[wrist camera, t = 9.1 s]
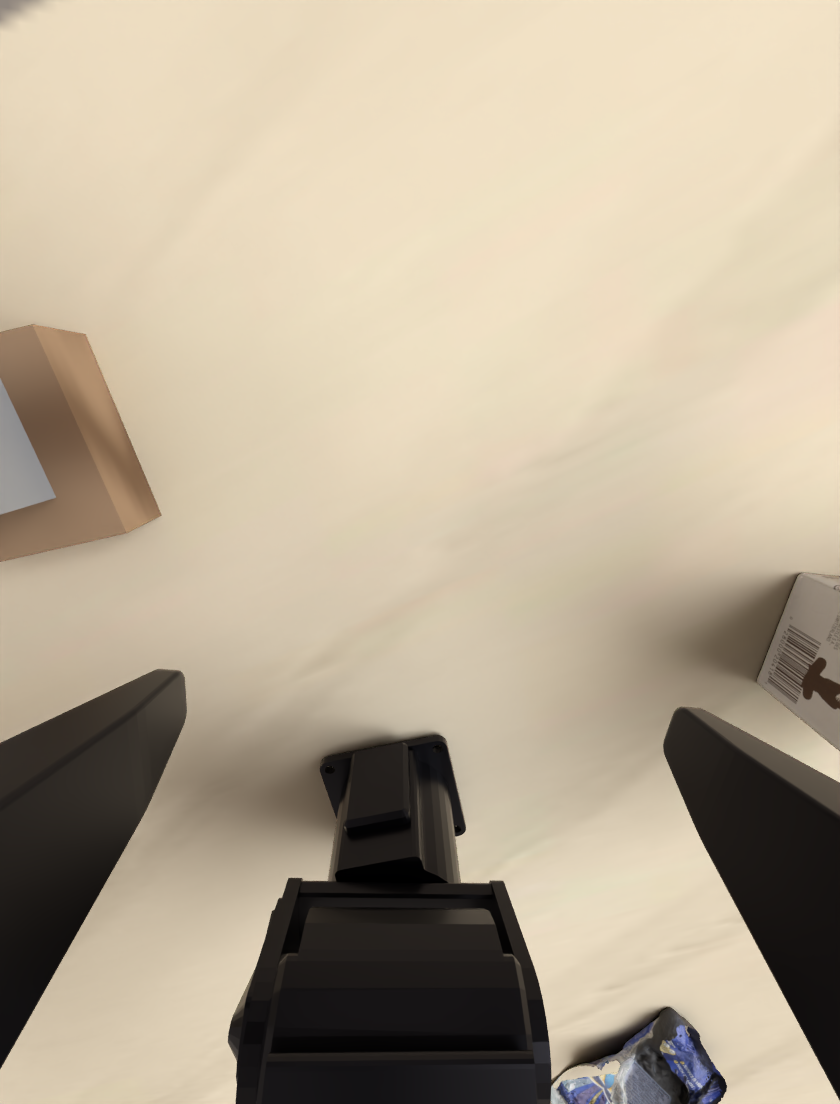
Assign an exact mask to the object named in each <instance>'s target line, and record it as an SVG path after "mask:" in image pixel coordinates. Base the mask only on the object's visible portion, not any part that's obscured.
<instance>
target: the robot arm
mask: <svg viewBox="0 0 840 1104" xmlns="http://www.w3.org/2000/svg"><path fill="white" fill-rule="evenodd" d="M186 713H187V707H186V690H185V677H184V674H183V673H182V672H181V671H179V670H166V669H157V670H154V671H152V672H150V673H148V674H146V675H144V676H141V677H139V678H137V679H135V680H133V681H131V682H129V683H127V684H124V685H122V686H120V687H118V688H116V689H114V690H112V691H110V692H107V693H105V694H103V695H101V696H99V697H97V698H95V699H93V700H91V701H88V702H86V703H84V704H82V705H80V706H78V707H76V708H74V709H71V710H69V711H67V712H65V713H63V714H61V715H59V716H57V717H54V718H52V719H50V720H48V721H46V722H44V723H42V724H40V725H37V726H35V727H33V728H31V729H29V730H27V731H25V732H23V733H21V734H18V735H16V736H14V737H12V738H10V739H8V740H6V741H4V742H1V743H0V1069H1V1067H2V1065H3V1064H4V1062H5V1060H6V1058H7V1057H8V1055H9V1053H10V1051H11V1049H12V1048H13V1046H14V1044H15V1042H16V1041H17V1039H18V1037H19V1035H20V1034H21V1032H22V1030H23V1028H24V1026H25V1025H26V1023H27V1021H28V1019H29V1018H30V1016H31V1014H32V1012H33V1010H34V1009H35V1007H36V1005H37V1003H38V1002H39V1000H40V998H41V996H42V995H43V993H44V991H45V989H46V987H47V986H48V984H49V982H50V980H51V979H52V977H53V975H54V973H55V971H56V970H57V968H58V966H59V964H60V963H61V961H62V959H63V957H64V955H65V954H66V952H67V950H68V948H69V947H70V945H71V943H72V941H73V940H74V938H75V936H76V934H77V932H78V931H79V929H80V927H81V925H82V924H83V922H84V920H85V918H86V916H87V915H88V913H89V911H90V909H91V908H92V906H93V904H94V902H95V901H96V899H97V897H98V895H99V893H100V892H101V890H102V888H103V886H104V885H105V883H106V881H107V879H108V877H109V876H110V874H111V872H112V870H113V869H114V867H115V865H116V863H117V862H118V860H119V858H120V856H121V854H122V853H123V851H124V849H125V847H126V846H127V844H128V842H129V840H130V838H131V837H132V835H133V833H134V831H135V830H136V828H137V826H138V824H139V822H140V821H141V819H142V817H143V815H144V813H145V811H146V809H147V807H148V805H149V803H150V801H151V799H152V796H153V794H154V792H155V790H156V787H157V785H158V783H159V780H160V778H161V776H162V774H163V771H164V769H165V767H166V764H167V762H168V760H169V758H170V755H171V753H172V751H173V748H174V746H175V744H176V741H177V739H178V737H179V735H180V732H181V730H182V728H183V725H184V723H185V719H186ZM435 745H440V747H434V746H435ZM663 749H664V754H665V757H666V760H667V762H668V764H669V767H670V769H671V771H672V774H673V776H674V778H675V781H676V783H677V785H678V788H679V790H680V792H681V795H682V797H683V800H684V802H685V804H686V807H687V809H688V811H689V814H690V816H691V818H692V821H693V823H694V825H695V827H696V830H697V832H698V834H699V836H700V838H701V840H702V842H703V844H704V846H705V848H706V850H707V852H708V854H709V856H710V858H711V860H712V862H713V863H714V865H715V867H716V869H717V871H718V873H719V875H720V877H721V878H722V880H723V882H724V884H725V886H726V888H727V890H728V892H729V893H730V895H731V897H732V899H733V901H734V903H735V905H736V907H737V908H738V910H739V912H740V914H741V916H742V918H743V920H744V922H745V924H746V925H747V927H748V929H749V931H750V933H751V935H752V937H753V939H754V940H755V942H756V944H757V946H758V948H759V950H760V952H761V954H762V955H763V957H764V959H765V961H766V963H767V965H768V967H769V969H770V970H771V972H772V974H773V976H774V978H775V980H776V982H777V984H778V986H779V987H780V989H781V991H782V993H783V995H784V997H785V999H786V1001H787V1002H788V1004H789V1006H790V1008H791V1010H792V1012H793V1014H794V1016H795V1017H796V1019H797V1021H798V1023H799V1025H800V1027H801V1029H802V1031H803V1032H804V1034H805V1036H806V1038H807V1040H808V1042H809V1044H810V1046H811V1048H812V1049H813V1051H814V1053H815V1055H816V1057H817V1059H818V1061H819V1063H820V1064H821V1066H822V1068H823V1070H824V1072H825V1074H826V1076H827V1078H828V1079H829V1081H830V1083H831V1085H832V1087H833V1089H834V1091H835V1093H836V1095H837V1096H838V1098H839V1100H840V783H839V782H837V781H836V780H834V779H832V778H830V777H828V776H826V775H824V774H823V773H821V772H819V771H817V770H815V769H813V768H811V767H810V766H808V765H806V764H804V763H802V762H800V761H798V760H797V759H795V758H793V757H791V756H789V755H787V754H785V753H784V752H782V751H780V750H778V749H776V748H774V747H772V746H771V745H769V744H767V743H765V742H763V741H761V740H759V739H758V738H756V737H754V736H752V735H750V734H748V733H746V732H745V731H743V730H741V729H739V728H737V727H735V726H733V725H731V724H730V723H728V722H726V721H724V720H722V719H720V718H718V717H717V716H715V715H713V714H711V713H709V712H707V711H705V710H703V709H701V708H692V707H679V708H677V709H676V710H675V711H674V714H673V716H672V719H671V722H670V725H669V728H668V730H667V733H666V736H665V739H664V744H663ZM327 766H332V767H333V768H329V767H327ZM320 773H321V775H322V778H323V781H324V784H325V787H326V790H327V792H328V795H329V798H330V801H331V804H332V807H333V810H334V812H335V815H336V818H337V822H336V829H335V836H334V842H333V849H332V856H331V863H330V869H329V876H328V881H303V879H302V878H289V879H288V881H287V884H286V888H285V891H284V894H283V897H282V898H279V899H278V902H277V905H276V908H275V910H273V911H272V914H271V918H270V922H269V926H268V930H267V934H266V938H265V941H264V944H263V947H262V950H261V953H260V956H259V959H258V963H257V966H256V968H255V970H254V973H253V975H252V977H251V979H250V981H249V983H248V985H247V987H246V990H245V992H244V994H243V996H242V998H241V1000H240V1002H239V1004H238V1006H237V1009H236V1011H235V1013H234V1015H233V1017H232V1021H231V1024H230V1029H229V1035H228V1043H229V1046H230V1048H231V1050H232V1052H233V1054H234V1056H235V1058H236V1060H237V1072H236V1080H237V1092H236V1104H550V1101H551V1058H550V1046H549V1037H548V1030H547V1022H546V1016H545V1010H544V1005H543V999H542V995H541V991H540V986H539V982H538V979H537V975H536V972H535V969H534V966H533V963H532V960H531V957H530V955H529V952H528V949H527V946H526V943H525V941H524V938H523V935H522V932H521V929H520V926H519V924H518V921H517V918H516V915H515V912H514V909H513V907H512V904H511V901H510V898H509V895H508V893H507V890H506V887H505V884H504V882H503V881H490V882H489V883H461V880H460V872H459V864H458V856H457V848H456V840H455V836H460V835H462V834H463V833H464V832H465V831H466V826H465V820H464V815H463V811H462V806H461V802H460V798H459V793H458V789H457V785H456V780H455V776H454V771H453V767H452V763H451V758H450V754H449V749H448V745H447V741H446V739H445V738H444V737H443V736H440V735H435V736H430V737H425V738H419V739H414V740H409V741H404V742H399V743H394V744H389V745H383V746H378V747H373V748H368V749H363V750H358V751H352V752H347V753H342V754H337V755H332V756H328V757H325V758H324V759H323V760H322V762H321V766H320Z"/></svg>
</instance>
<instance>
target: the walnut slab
mask: <svg viewBox="0 0 840 1104" xmlns="http://www.w3.org/2000/svg"><path fill="white" fill-rule="evenodd" d="M0 379H1V381H2V383H3V385H4V387H5V389H6V391H7V394H8V396H9V398H10V400H11V402H12V404H13V406H14V408H15V411H16V413H17V415H18V417H19V419H20V421H21V423H22V426H23V428H24V430H25V432H26V434H27V436H28V438H29V440H30V443H31V445H32V447H33V449H34V451H35V453H36V455H37V457H38V460H39V462H40V464H41V466H42V468H43V470H44V472H45V475H46V477H47V479H48V481H49V483H50V485H51V487H52V489H53V492H54V494H55V496H56V498H54V499H50V500H47V501H44V502H40V503H37V504H34V505H30V506H27V507H24V508H21V509H17V510H14V511H11V512H7V513H4V514H1V515H0V562H1V561H6V560H10V559H14V558H19V557H23V556H28V555H32V554H37V553H41V552H45V551H50V550H54V549H59V548H63V547H68V546H72V545H76V544H81V543H85V542H90V541H94V540H98V539H103V538H107V537H112V536H116V535H121V534H125V533H128V532H130V531H132V530H134V529H136V528H138V527H140V526H142V525H144V524H146V523H148V522H149V521H151V520H153V519H155V518H157V517H159V516H161V513H160V510H159V508H158V506H157V503H156V501H155V498H154V496H153V494H152V491H151V489H150V487H149V484H148V482H147V479H146V477H145V475H144V472H143V470H142V468H141V465H140V463H139V460H138V458H137V456H136V453H135V451H134V449H133V446H132V444H131V441H130V439H129V437H128V434H127V432H126V430H125V427H124V425H123V422H122V420H121V418H120V415H119V413H118V411H117V408H116V406H115V403H114V401H113V399H112V396H111V394H110V391H109V389H108V387H107V384H106V382H105V380H104V377H103V375H102V372H101V370H100V368H99V365H98V363H97V361H96V358H95V356H94V353H93V351H92V349H91V346H90V344H89V342H88V339H87V337H86V334H81V333H75V332H70V331H65V330H59V329H54V328H48V327H43V326H38V325H28V326H24V327H20V328H16V329H12V330H8V331H4V332H0Z"/></svg>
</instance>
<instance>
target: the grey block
mask: <svg viewBox="0 0 840 1104" xmlns="http://www.w3.org/2000/svg"><path fill="white" fill-rule="evenodd" d="M54 498H56V496H55V494H54V492H53V489H52V487H51V485H50V483H49V481H48V479H47V477H46V475H45V472H44V470H43V468H42V466H41V464H40V462H39V460H38V457H37V455H36V453H35V451H34V449H33V447H32V445H31V443H30V440H29V438H28V436H27V434H26V432H25V430H24V428H23V426H22V423H21V421H20V419H19V417H18V415H17V413H16V411H15V408H14V406H13V404H12V402H11V400H10V398H9V396H8V394H7V391H6V389H5V387H4V385H3V383H2V381H1V379H0V515H1V514H4V513H7V512H11V511H14V510H17V509H21V508H24V507H27V506H30V505H34V504H37V503H40V502H44V501H47V500H50V499H54Z"/></svg>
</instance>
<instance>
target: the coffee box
mask: <svg viewBox="0 0 840 1104" xmlns="http://www.w3.org/2000/svg"><path fill="white" fill-rule="evenodd" d="M757 683H758V684H759V685H760V686H761V687H763V688H764V689H765V690H766V691H767V692H769V693H770V694H771V695H772V696H773V697H774V698H776V699H777V700H778V701H779V702H781V703H782V704H783V705H784V706H786V707H787V708H788V709H789V710H790V711H792V712H793V713H794V714H795V715H796V716H798V717H799V718H800V719H801V720H803V721H804V722H805V723H806V724H807V725H809V726H810V727H811V728H812V729H813V730H815V731H816V732H817V733H818V734H819V735H821V736H822V737H823V738H824V739H825V740H827V741H828V742H829V743H830V744H831V745H833V746H834V747H835V748H836V749H838V750H839V751H840V577H839V576H829V575H820V574H810V573H801V574H799V575H798V577H797V579H796V581H795V584H794V586H793V589H792V591H791V594H790V596H789V599H788V601H787V604H786V607H785V609H784V612H783V614H782V617H781V620H780V622H779V625H778V627H777V630H776V632H775V635H774V638H773V640H772V643H771V645H770V648H769V650H768V653H767V656H766V658H765V661H764V664H763V666H762V669H761V671H760V673H759V676H758V678H757Z"/></svg>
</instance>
